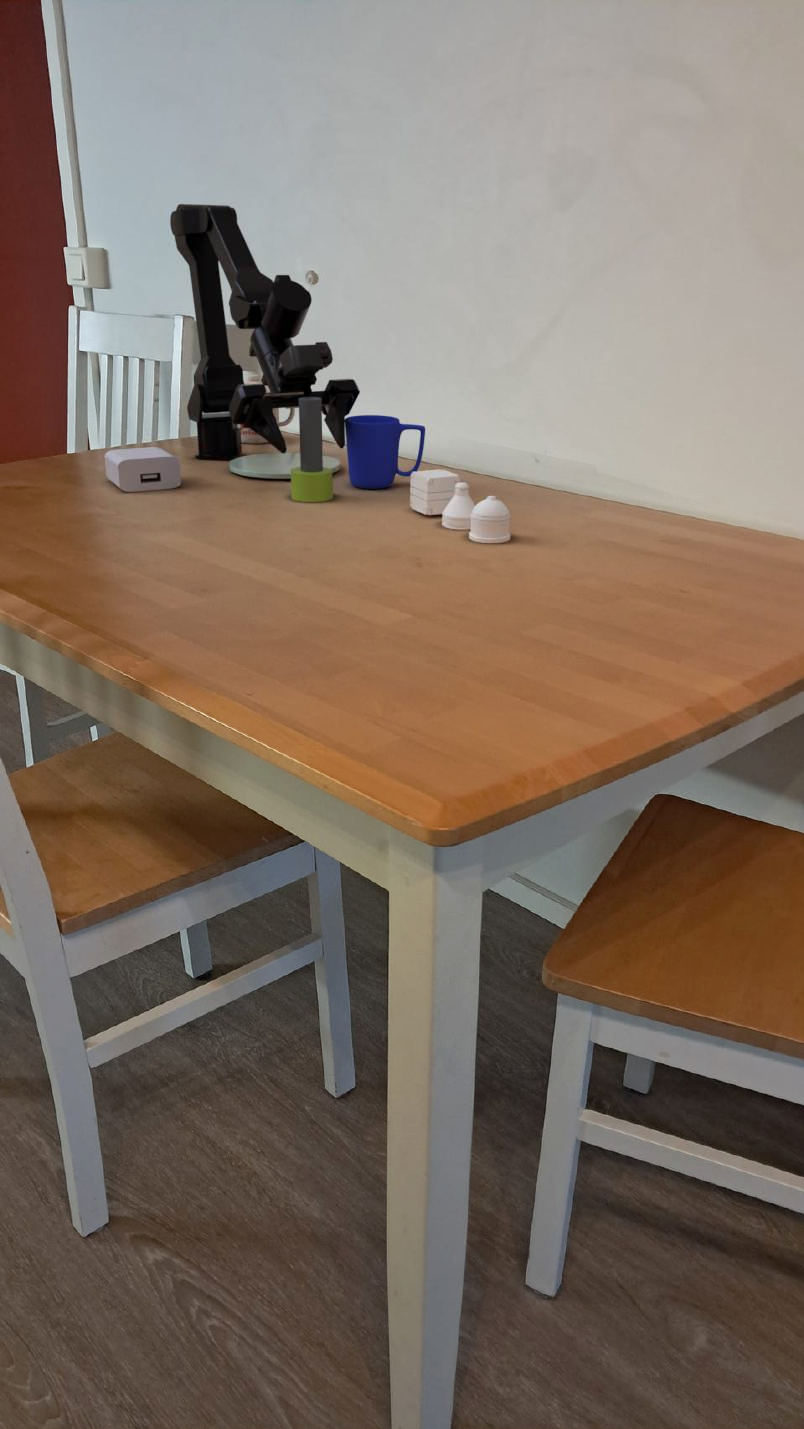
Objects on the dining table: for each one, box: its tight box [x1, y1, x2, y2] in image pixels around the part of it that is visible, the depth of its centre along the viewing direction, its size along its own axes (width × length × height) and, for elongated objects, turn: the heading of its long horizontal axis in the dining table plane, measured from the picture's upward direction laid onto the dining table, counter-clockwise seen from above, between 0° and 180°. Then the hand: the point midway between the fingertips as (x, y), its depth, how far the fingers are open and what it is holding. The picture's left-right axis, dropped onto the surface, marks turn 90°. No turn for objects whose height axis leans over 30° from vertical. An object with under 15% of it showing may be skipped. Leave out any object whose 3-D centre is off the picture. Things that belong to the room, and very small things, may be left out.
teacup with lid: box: [237, 374, 296, 445], centre depth 197 cm, size 12×9×12 cm
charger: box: [104, 446, 182, 493], centre depth 164 cm, size 5×9×15 cm
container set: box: [409, 468, 511, 544], centre depth 140 cm, size 20×5×6 cm, turn 27°
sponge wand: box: [290, 397, 334, 503], centre depth 152 cm, size 6×6×14 cm
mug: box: [345, 414, 426, 490], centre depth 161 cm, size 8×12×10 cm
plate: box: [228, 452, 341, 480], centre depth 173 cm, size 18×18×1 cm
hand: (314, 449), depth 152 cm, fingers open, 9 cm apart
